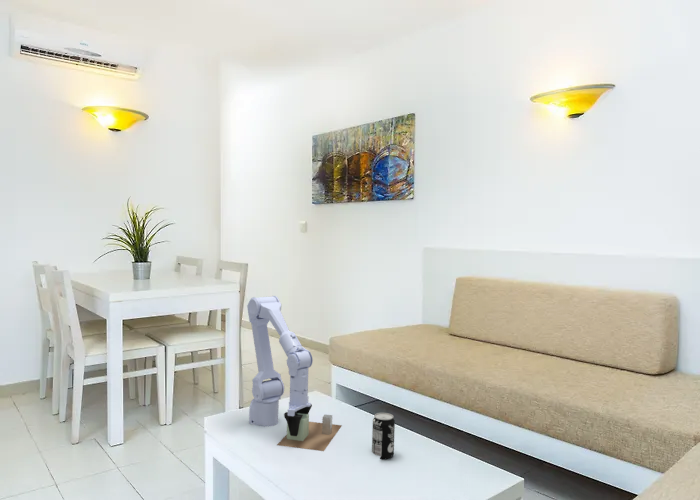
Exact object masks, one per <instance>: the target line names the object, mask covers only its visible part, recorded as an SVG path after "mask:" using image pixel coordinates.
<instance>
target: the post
mask: <svg viewBox="0 0 700 500" xmlns="http://www.w3.org/2000/svg"><path fill="white" fill-rule="evenodd" d="M321 420H322V421H321V423H322V434H327V435H330V434H331V433H332V424H333V414H324V415H323V416H322V419H321Z"/></svg>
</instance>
